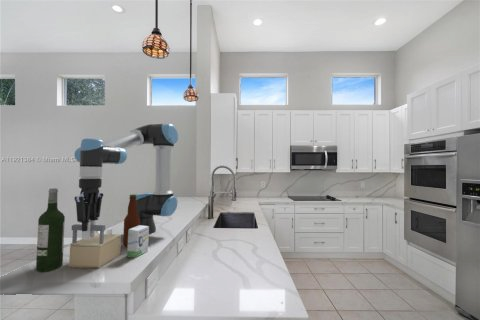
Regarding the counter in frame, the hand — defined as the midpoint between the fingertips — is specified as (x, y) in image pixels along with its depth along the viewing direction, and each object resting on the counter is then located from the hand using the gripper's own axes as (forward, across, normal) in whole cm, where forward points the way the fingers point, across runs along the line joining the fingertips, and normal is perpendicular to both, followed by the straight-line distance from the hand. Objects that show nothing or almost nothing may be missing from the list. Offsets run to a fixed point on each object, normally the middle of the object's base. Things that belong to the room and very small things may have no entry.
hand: (88, 238), depth 91 cm
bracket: (+11, -22, -12) cm, 28 cm away
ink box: (+11, -14, +13) cm, 22 cm away
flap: (+3, -5, 0) cm, 6 cm away
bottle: (+11, -26, +4) cm, 28 cm away
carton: (+11, -6, 0) cm, 12 cm away
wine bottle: (+11, +2, -13) cm, 17 cm away
